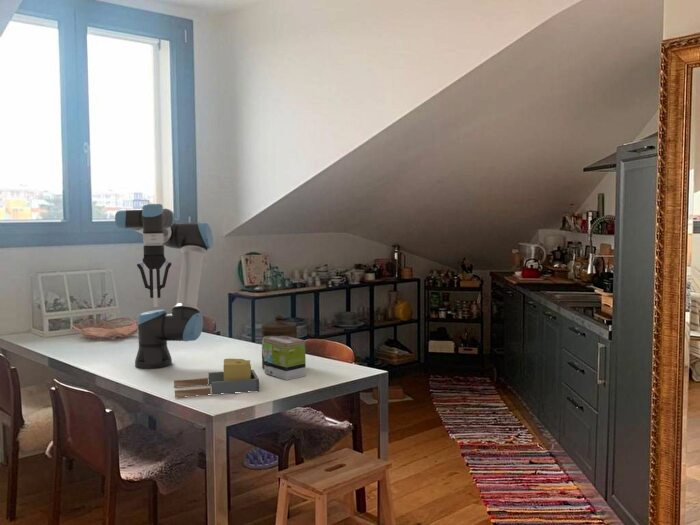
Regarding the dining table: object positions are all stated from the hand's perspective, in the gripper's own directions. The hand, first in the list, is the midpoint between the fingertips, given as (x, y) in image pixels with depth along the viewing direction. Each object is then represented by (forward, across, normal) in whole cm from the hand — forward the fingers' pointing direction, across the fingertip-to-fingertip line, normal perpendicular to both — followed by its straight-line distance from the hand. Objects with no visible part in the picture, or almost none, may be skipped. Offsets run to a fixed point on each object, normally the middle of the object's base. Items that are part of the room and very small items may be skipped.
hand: (155, 306), depth 269 cm
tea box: (+30, +49, -3) cm, 57 cm away
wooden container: (+30, +49, +11) cm, 58 cm away
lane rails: (+29, +12, -17) cm, 36 cm away
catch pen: (+29, +27, -17) cm, 43 cm away
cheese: (+30, +29, -17) cm, 44 cm away
